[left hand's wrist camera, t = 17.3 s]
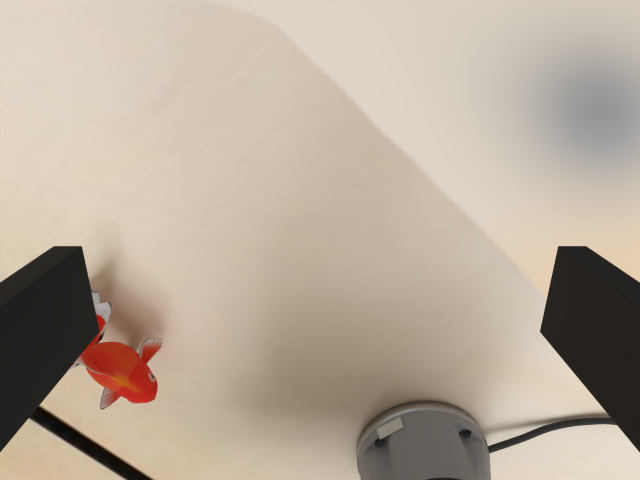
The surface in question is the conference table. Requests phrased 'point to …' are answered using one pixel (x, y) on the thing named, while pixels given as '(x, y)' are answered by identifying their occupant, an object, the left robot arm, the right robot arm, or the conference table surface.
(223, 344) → the conference table surface
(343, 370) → the conference table surface
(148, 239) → the conference table surface
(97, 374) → the fish
